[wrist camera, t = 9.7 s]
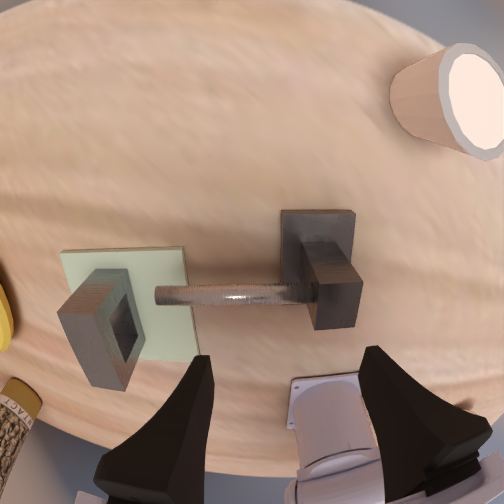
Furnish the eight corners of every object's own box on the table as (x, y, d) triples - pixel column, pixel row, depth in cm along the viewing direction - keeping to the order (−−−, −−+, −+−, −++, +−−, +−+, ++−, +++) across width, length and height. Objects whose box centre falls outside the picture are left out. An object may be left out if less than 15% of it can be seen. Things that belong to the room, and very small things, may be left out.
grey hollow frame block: (146, 339, 23) (125, 391, 18) (116, 337, 23) (91, 386, 18) (127, 268, 21) (93, 315, 15) (95, 268, 21) (56, 312, 15)
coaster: (200, 357, 25) (199, 362, 24) (97, 350, 25) (95, 353, 24) (183, 246, 21) (181, 250, 20) (62, 250, 21) (59, 253, 20)
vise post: (341, 294, 22) (367, 349, 16) (182, 299, 22) (162, 356, 16) (351, 210, 20) (391, 246, 14) (170, 213, 20) (137, 252, 14)
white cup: (364, 73, 16) (417, 54, 9) (431, 50, 14) (490, 35, 8) (405, 160, 18) (464, 180, 12) (464, 130, 17) (525, 140, 10)
